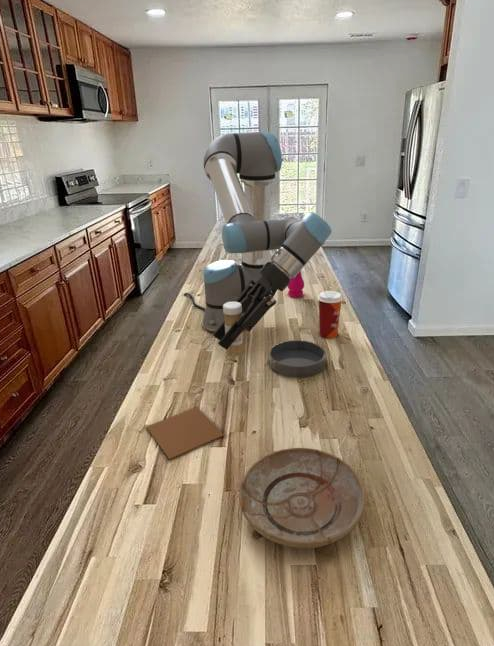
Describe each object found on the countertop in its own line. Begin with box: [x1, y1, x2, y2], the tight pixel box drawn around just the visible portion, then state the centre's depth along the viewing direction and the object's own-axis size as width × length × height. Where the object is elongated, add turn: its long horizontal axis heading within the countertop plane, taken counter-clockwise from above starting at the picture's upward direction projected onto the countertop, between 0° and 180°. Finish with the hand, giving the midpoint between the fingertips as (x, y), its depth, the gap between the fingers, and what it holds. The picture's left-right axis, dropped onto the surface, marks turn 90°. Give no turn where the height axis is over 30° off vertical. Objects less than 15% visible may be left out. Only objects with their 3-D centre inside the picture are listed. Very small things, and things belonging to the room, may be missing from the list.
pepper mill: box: [286, 269, 305, 298], centre depth 183 cm, size 7×7×20 cm
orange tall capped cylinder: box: [317, 290, 343, 339], centre depth 149 cm, size 8×8×15 cm
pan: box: [268, 339, 326, 378], centre depth 134 cm, size 17×17×4 cm
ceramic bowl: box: [238, 447, 366, 549], centre depth 83 cm, size 23×24×5 cm
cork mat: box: [146, 406, 225, 461], centre depth 106 cm, size 14×14×1 cm
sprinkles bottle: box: [223, 302, 245, 358], centre depth 108 cm, size 5×5×14 cm
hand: (219, 342), depth 108 cm, fingers closed on sprinkles bottle, 4 cm apart
